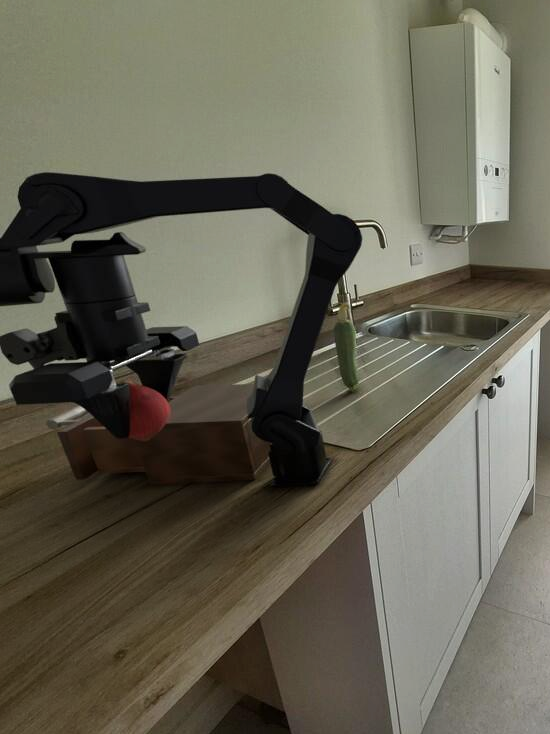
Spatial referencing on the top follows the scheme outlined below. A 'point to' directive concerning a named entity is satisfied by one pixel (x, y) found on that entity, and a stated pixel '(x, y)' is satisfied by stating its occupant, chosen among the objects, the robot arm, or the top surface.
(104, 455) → the drawer
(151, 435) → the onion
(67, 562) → the top surface
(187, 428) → the cabinet
